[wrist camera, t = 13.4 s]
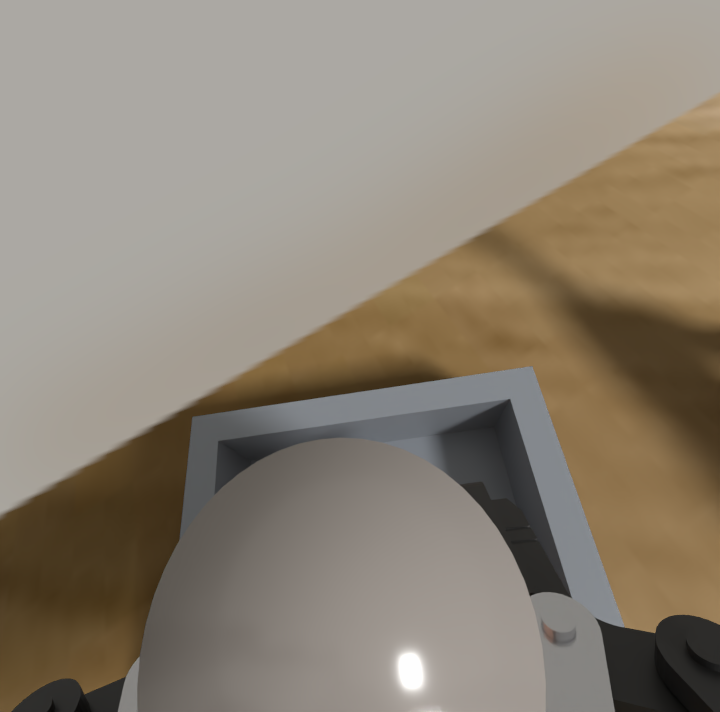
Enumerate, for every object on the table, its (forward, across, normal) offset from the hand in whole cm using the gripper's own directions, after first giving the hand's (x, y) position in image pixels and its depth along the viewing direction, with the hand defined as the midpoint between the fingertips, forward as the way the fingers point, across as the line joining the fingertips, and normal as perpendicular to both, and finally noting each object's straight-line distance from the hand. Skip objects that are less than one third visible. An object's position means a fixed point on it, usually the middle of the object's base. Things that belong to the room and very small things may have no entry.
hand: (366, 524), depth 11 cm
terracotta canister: (+2, 0, +4) cm, 5 cm away
